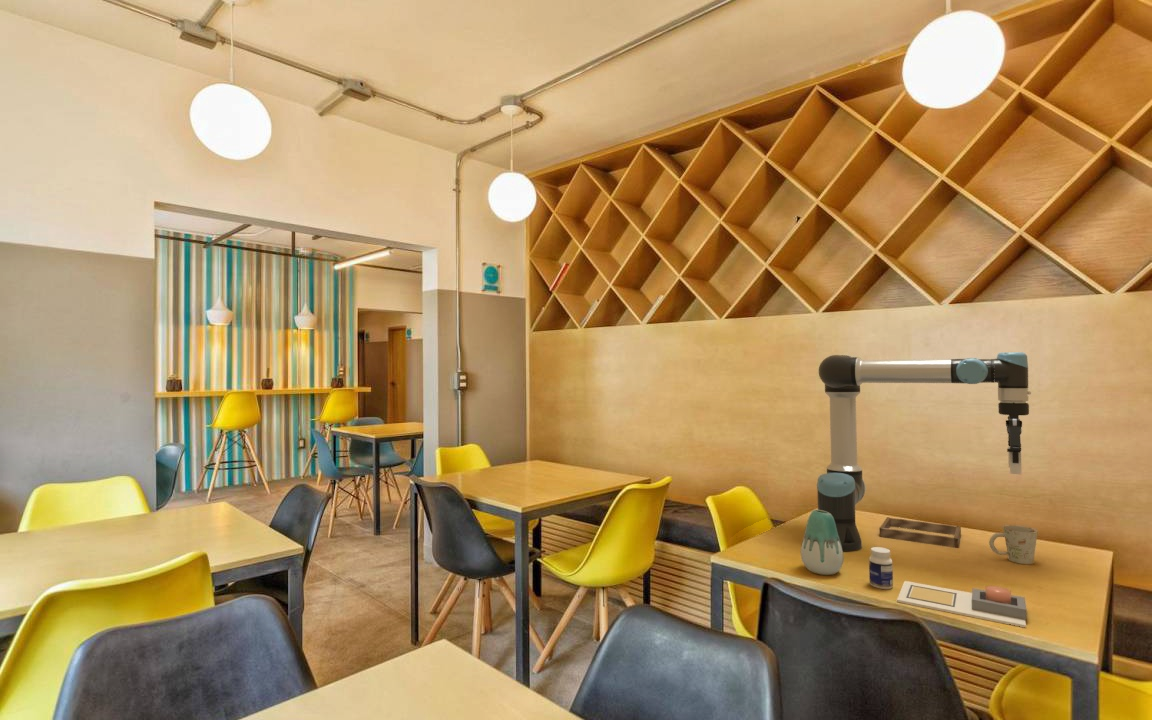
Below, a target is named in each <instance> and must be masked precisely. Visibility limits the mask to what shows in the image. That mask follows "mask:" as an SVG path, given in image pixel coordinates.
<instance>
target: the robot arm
mask: <svg viewBox="0 0 1152 720" xmlns="http://www.w3.org/2000/svg"><path fill="white" fill-rule="evenodd" d="M818 376H819V379H820V380H821V382H822V383H823V384H824V393H825V395H827V396H828V397H829V426H830V431H829V432H830V434H829V435H830V464H829V465H828V466H826V473H822V474H821V475H819V476H818V478H817V484H816V490H817V491H816V492H817V510H823V511H826V512H829V513H830V514H831V515H832V516H833V518H834V521H835V524H836V528H837V532H838V536H839V539H840V542H841V545H842V550H843V552H854V551H859V550H861V549H862V546H863V543H862V538H861V535H860V532H859V530H858V527H857V525H856V524H857V523H856V505H857V504H858V503H859V502H861V501H862V499H863V498H864V495H865V492H866V485H865V481H864V480H863V468H862V467H861V466H860V465H859V464H858V442H857V441H858V439H857V438H858V437H857V404H856V403H857V401H856V398H857V397H858V395H860V394H861V385H862V384H865V383H866V384H867V383H868V384H869V383H870V384H872V383H873V384H881V383H882V384H883V383H884V384H967V385H968V384H969V385H978V384H980V383H982V384H983V383H986V384H988V383H993V384H996V383H997V400H998V401H999V403H998V405H997V406H998V414H999V415H1002V416H1003V415H1005V416H1007V419H1008V420H1006V419H1005V426H1006V432H1007V433H1006V434H1007V435H1008V438H1007V439H1008V440H1007V443H1008V444H1007V445H1008V447H1007V449H1006V452H1007V454H1008V468H1009V474H1010V475H1022V444H1021V443H1022V442H1021V435H1022V428H1023V421H1022V420H1021V419H1020V417H1019V416H1028V415H1030V404H1029V403H1028V401H1029V395H1031V394H1032V391H1029V363H1028V355H1027V354H1026V353H1025V352H1023V351H1022V352H1020V351H1018V352H1016V351H1014V352H1013V351H1011V352H998V353H997V355H996V358H991V359H989V358H985V359H983V358H981V359H980V358H975V357H974V358H973V357H969V358H936V359H935V358H931V359H930V358H929V359H928V358H927V359H926V358H925V359H923V358H922V359H915V358H914V359H861V358H860V357H859V356H857V357H855V356H850V355H846V354H845V355H844V354H842V355H841V354H832V355H829V356H827V357H826V358H823V360H822V361H821V362H820V364H819V367H818Z"/></svg>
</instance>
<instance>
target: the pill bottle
mask: <svg viewBox="0 0 1152 720" xmlns="http://www.w3.org/2000/svg"><path fill="white" fill-rule="evenodd" d="M870 554H871V555H870V556H869V558H868V560H869V561H868V562H869V563H868V569H869V571H868V572H869V573H868V574H869V575H868V576H869V580H868V581H869V584H870V585H871V586H872V587H873V588H877V589H880V590H890V589H893V587H894V577H893V575H894V569H893V565H894V564H893V560H892V558H891V557H890V556H891V550H890V549H888V548H885V547H882V546H875V547H871V548H870Z"/></svg>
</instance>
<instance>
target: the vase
mask: <svg viewBox="0 0 1152 720" xmlns="http://www.w3.org/2000/svg"><path fill="white" fill-rule="evenodd" d="M800 559H801V562H802V564H803V565H804V567H805V568H806V569H807V570H808V571H810V572H811V573H813V574H818V575H820V576H821V575H824V576H831V575H836V573H838V572H839V571H841V569H842V567H843V565H844V551H843V550H842V545H841V542H840V539H839V536H838V532H837V528H836V524H835V521H834V518H833V516H832V515H831V514H830V513H829V512H826V511H823V510H818V509H813V510H812V511H811V512H810V514H809V516H808V519H807V521H806V527H805V530H804V533H803V538H802V542H801V548H800Z"/></svg>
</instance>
